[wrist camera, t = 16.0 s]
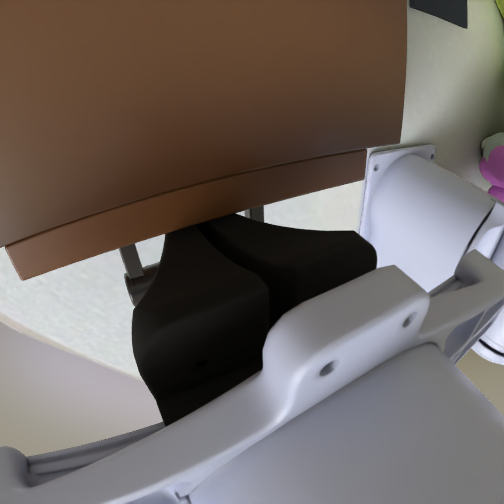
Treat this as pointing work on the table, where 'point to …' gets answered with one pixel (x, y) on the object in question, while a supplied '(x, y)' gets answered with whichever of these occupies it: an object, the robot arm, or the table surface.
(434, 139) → the table surface
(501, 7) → the toy
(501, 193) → the toy
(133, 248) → the drawer
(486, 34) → the table surface
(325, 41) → the cabinet
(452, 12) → the mat
